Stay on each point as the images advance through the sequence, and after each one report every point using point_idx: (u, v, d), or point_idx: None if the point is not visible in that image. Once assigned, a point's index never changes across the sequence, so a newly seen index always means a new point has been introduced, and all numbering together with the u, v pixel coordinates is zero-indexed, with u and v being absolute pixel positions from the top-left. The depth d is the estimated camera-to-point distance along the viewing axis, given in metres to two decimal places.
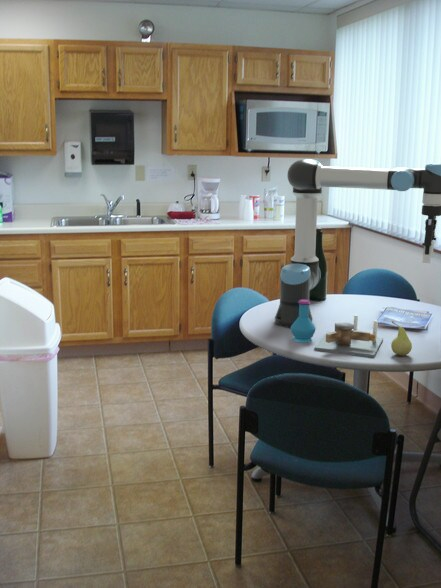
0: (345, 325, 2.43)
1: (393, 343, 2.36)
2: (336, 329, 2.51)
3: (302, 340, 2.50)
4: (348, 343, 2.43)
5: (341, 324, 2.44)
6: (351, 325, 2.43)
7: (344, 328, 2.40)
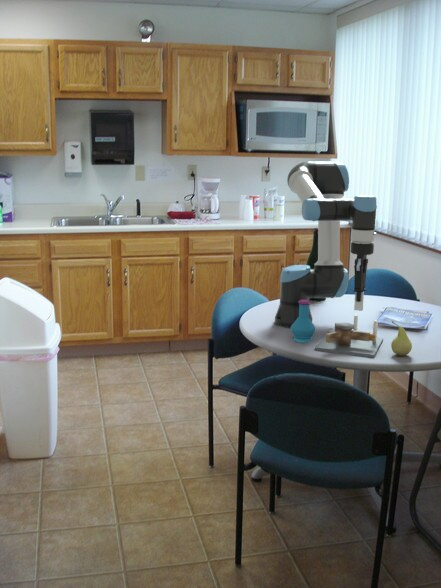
0: (345, 325, 2.43)
1: (393, 343, 2.36)
2: (336, 329, 2.51)
3: (302, 340, 2.50)
4: (348, 343, 2.43)
5: (341, 324, 2.44)
6: (351, 325, 2.43)
7: (344, 328, 2.40)
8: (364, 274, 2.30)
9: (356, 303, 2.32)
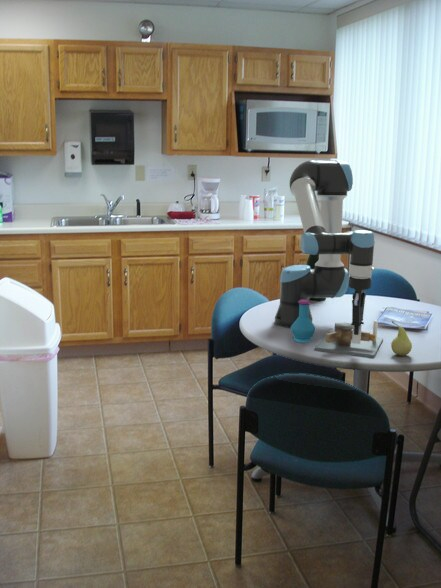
0: (345, 325, 2.43)
1: (393, 343, 2.36)
2: (336, 329, 2.51)
3: (302, 340, 2.50)
4: (348, 343, 2.43)
5: (341, 324, 2.44)
6: (351, 325, 2.43)
7: (344, 328, 2.40)
8: (362, 308, 2.34)
9: (354, 336, 2.35)
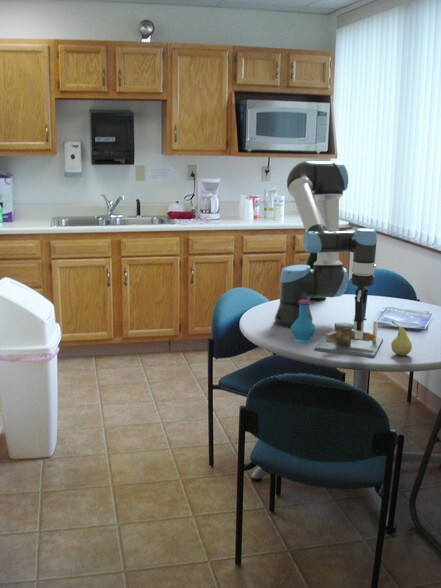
0: (345, 325, 2.43)
1: (393, 343, 2.36)
2: (336, 329, 2.51)
3: (302, 340, 2.50)
4: (348, 343, 2.43)
5: (341, 324, 2.44)
6: (351, 325, 2.43)
7: (344, 328, 2.40)
8: (364, 304, 2.38)
9: (356, 332, 2.40)
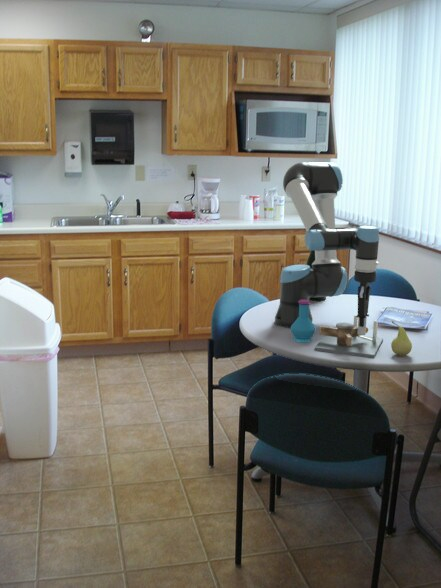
0: (346, 325, 2.43)
1: (393, 343, 2.36)
2: (325, 332, 2.47)
3: (302, 340, 2.50)
4: None
5: (341, 325, 2.43)
6: (349, 323, 2.45)
7: (351, 328, 2.41)
8: (367, 300, 2.43)
9: (359, 328, 2.44)
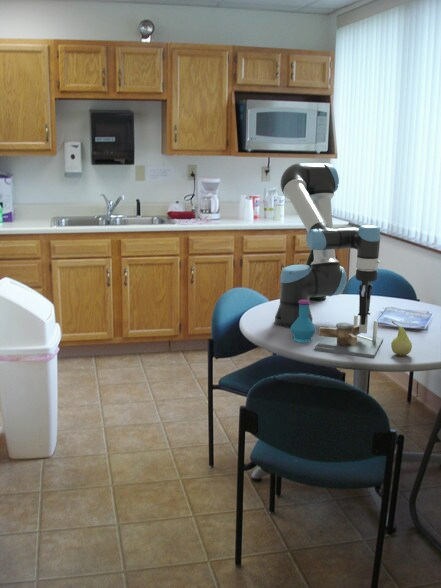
0: (345, 324, 2.44)
1: (393, 343, 2.36)
2: (324, 333, 2.45)
3: (302, 340, 2.50)
4: None
5: (342, 325, 2.43)
6: (347, 323, 2.45)
7: (352, 327, 2.42)
8: (368, 299, 2.45)
9: (361, 326, 2.47)
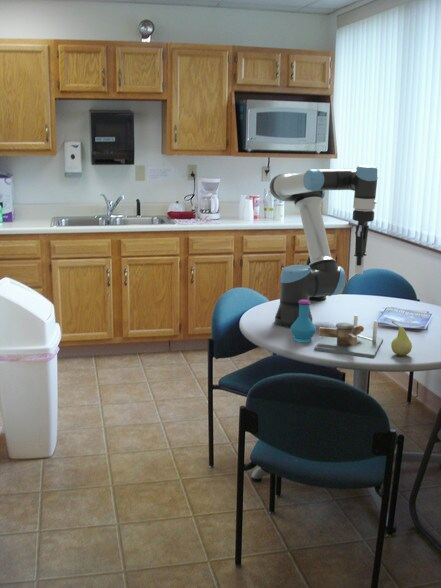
0: (345, 324, 2.44)
1: (393, 343, 2.36)
2: (324, 333, 2.45)
3: (302, 340, 2.50)
4: None
5: (342, 325, 2.43)
6: (347, 323, 2.45)
7: (352, 327, 2.42)
8: (365, 240, 2.47)
9: (357, 267, 2.49)
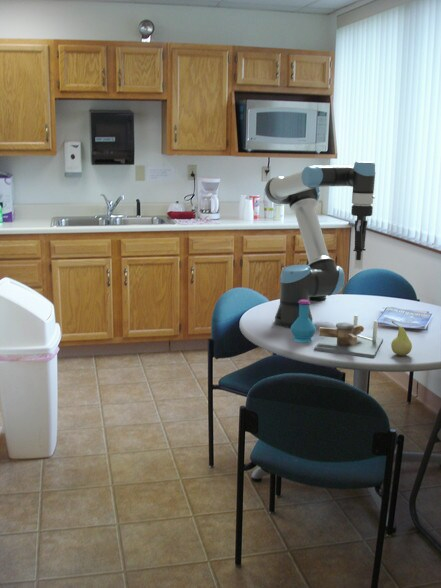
0: (345, 324, 2.44)
1: (393, 343, 2.36)
2: (324, 333, 2.45)
3: (302, 340, 2.50)
4: None
5: (342, 325, 2.43)
6: (347, 323, 2.45)
7: (352, 327, 2.42)
8: (363, 235, 2.50)
9: (356, 262, 2.51)
